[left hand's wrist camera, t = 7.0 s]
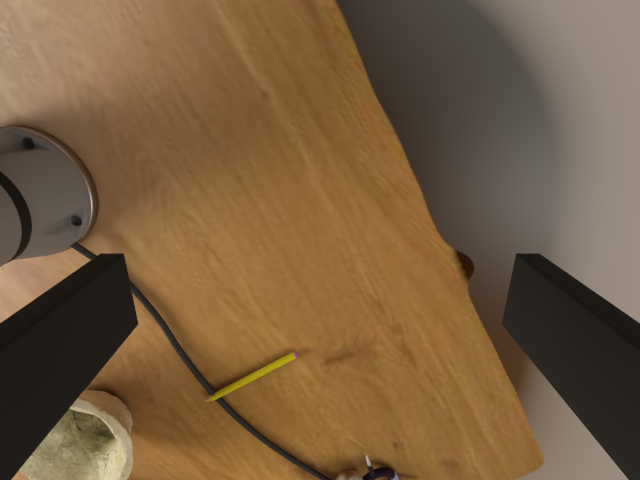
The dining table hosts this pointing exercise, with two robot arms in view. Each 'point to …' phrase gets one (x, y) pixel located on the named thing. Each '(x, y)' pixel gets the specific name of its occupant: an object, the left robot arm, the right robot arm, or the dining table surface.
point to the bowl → (86, 442)
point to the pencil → (253, 376)
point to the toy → (354, 479)
